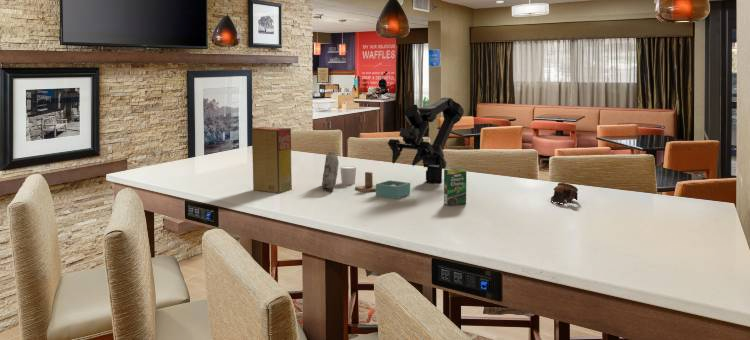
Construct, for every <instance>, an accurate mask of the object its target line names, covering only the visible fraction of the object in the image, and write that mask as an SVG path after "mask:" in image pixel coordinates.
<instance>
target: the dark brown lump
mask: <svg viewBox="0 0 750 340" xmlns="http://www.w3.org/2000/svg"><path fill="white" fill-rule="evenodd" d="M553 190H554V191H553V195H552V196H551V197H550V202H551V201H553V202H552V203H555V202H559V203H564V204H565V202H566V203H567V204H571V203H573V201H574V199H576V200H577V201H578V194H579V193H578V191H579V189H578V188H577V187H576V186H574V185H573V184H570V183H566V182H558V183H557V186H555V187H554V188H553Z"/></svg>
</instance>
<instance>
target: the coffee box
mask: <svg viewBox="0 0 750 340" xmlns="http://www.w3.org/2000/svg"><path fill="white" fill-rule="evenodd" d="M443 205H445V206H446V207H448V206H450V207H451V206H457V205H467V168H465V167H456V168H445V169H443Z"/></svg>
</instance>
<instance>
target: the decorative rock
mask: <svg viewBox="0 0 750 340" xmlns="http://www.w3.org/2000/svg"><path fill="white" fill-rule="evenodd" d="M323 168H324V169H323V174H322V182H321V187H322V189H323V190H333V189H335V186H336V185H337V177H338V171H339V157H338V154H337V153H335V152H333V151H327V153H326V156H325V161H324V167H323Z"/></svg>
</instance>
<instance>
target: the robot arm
mask: <svg viewBox="0 0 750 340" xmlns="http://www.w3.org/2000/svg"><path fill="white" fill-rule="evenodd" d="M464 111H465V110H464V107H462V105H461V104H460V103H458V102H456V101H455V100H454V99H453V98H451V97H441V98H440V99H438V100H437V101H436V102H433V104H430V105H429V106H421V107H418V104H412V105H411V106H408V107H407V108H406V109H404V112H403V115H404V117H405V118H406V120H407V122H408V124H409V125H410V126H412V127H411V128H409V127H408V128H406V127H401V128H400V131H399V134H398V135H399V137H401V138H402V141H403V142H401V141H400V139H395V138H391V139H389V140H388V142H387V145H388V147H389V148H390V150H391V151H392V159H391V163H392V164H395V163H396V162H397V160H398V159H399V158H400V156H401V154H402V151H403V149H406V150H412V151H416V154H415V156H414V158H413V160H412V164H411V166H416V165H417V164H418V163H419V162H421V161H422V164H423V168H426V170H425V181H426V183H432V184H433V183H437V184H442V183H443V170H444V169H447V161H446V159H445V154H444V153H445V152H444V148H445V145H446V143H447V141H448V140H449V137H450V134H451V132H452V130H453V128H454V126H455V124H457V123H458V122H460V121H461V120H462V117H463V116H464ZM440 113H442V117H443V121H442V123H441V125H440V127H439V129H438V132H437V134H436V136H435V138H434V140H433V142H432V144H431V143H430V141H425V140H424V136H425V134H426V132H430V128H429V125H428V123H433V122H434V121H435V120H436V119H437V116H438V115H439V114H440Z"/></svg>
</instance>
